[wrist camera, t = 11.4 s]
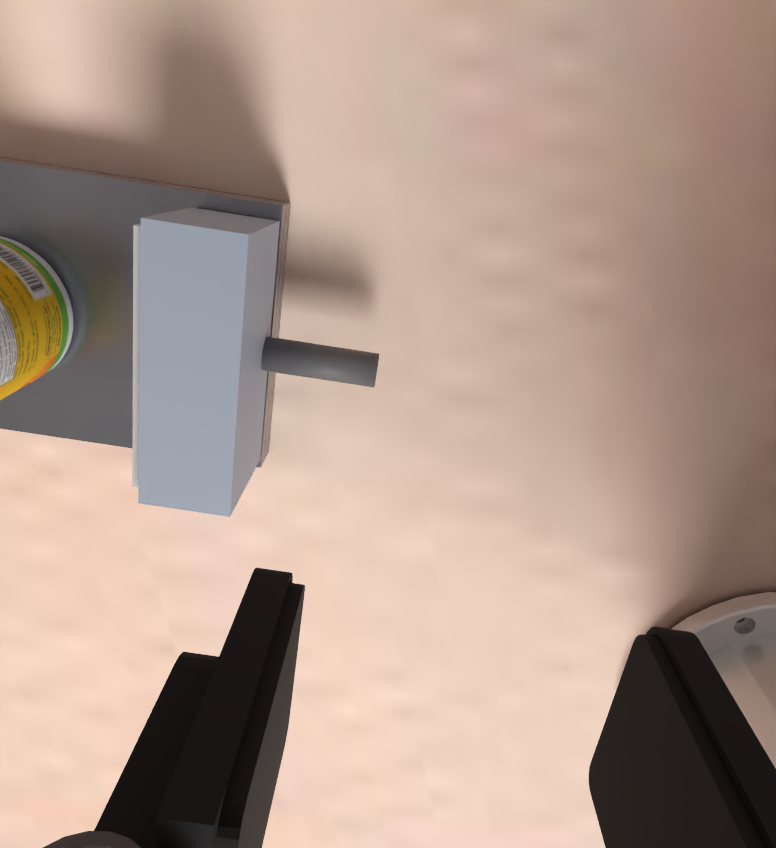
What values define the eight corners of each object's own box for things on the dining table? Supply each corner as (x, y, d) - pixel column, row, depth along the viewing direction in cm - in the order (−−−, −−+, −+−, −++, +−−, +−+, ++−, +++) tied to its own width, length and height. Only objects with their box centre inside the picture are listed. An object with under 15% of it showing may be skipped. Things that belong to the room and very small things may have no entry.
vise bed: (290, 202, 24) (252, 215, 18) (268, 452, 28) (231, 525, 22) (-209, 124, 24) (-402, 112, 18) (-164, 386, 27) (-313, 444, 22)
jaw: (396, 239, 23) (391, 256, 18) (361, 474, 26) (351, 534, 22) (180, 205, 22) (126, 215, 18) (173, 446, 26) (126, 501, 22)
